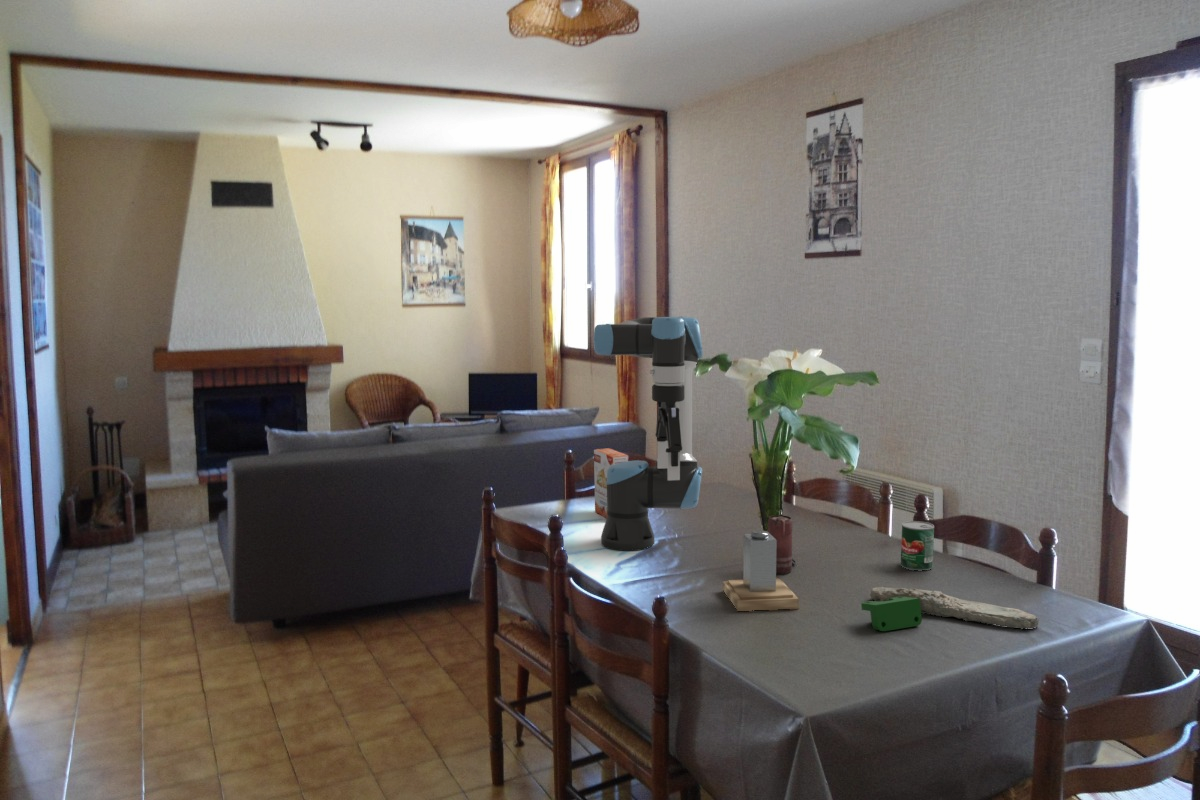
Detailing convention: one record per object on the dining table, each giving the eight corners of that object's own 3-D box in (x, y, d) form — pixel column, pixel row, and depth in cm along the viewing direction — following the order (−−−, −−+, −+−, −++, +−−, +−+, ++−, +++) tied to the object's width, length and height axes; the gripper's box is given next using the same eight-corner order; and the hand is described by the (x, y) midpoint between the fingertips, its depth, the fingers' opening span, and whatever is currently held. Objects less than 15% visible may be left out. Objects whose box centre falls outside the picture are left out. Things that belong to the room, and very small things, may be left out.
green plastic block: (899, 639, 195) (907, 598, 197) (917, 642, 190) (925, 600, 192) (853, 624, 192) (862, 582, 194) (870, 627, 186) (879, 584, 189)
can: (774, 575, 225) (775, 521, 223) (763, 568, 231) (763, 515, 229) (796, 573, 227) (797, 519, 225) (784, 566, 233) (785, 513, 231)
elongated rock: (1033, 643, 185) (1038, 630, 194) (1036, 619, 185) (1041, 606, 193) (864, 605, 203) (875, 594, 212) (866, 582, 203) (877, 572, 211)
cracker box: (593, 512, 290) (592, 448, 288) (610, 510, 293) (609, 447, 290) (612, 522, 278) (611, 456, 275) (629, 520, 280) (629, 454, 278)
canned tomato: (897, 568, 230) (899, 526, 229) (903, 560, 237) (904, 519, 236) (930, 572, 226) (932, 530, 225) (934, 564, 233) (936, 523, 232)
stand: (722, 591, 214) (722, 579, 214) (779, 588, 216) (780, 576, 215) (737, 612, 200) (737, 599, 200) (798, 609, 202) (798, 596, 201)
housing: (743, 583, 210) (743, 529, 209) (768, 582, 211) (769, 528, 209) (750, 592, 204) (750, 536, 203) (775, 591, 205) (776, 535, 203)
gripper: (643, 378, 219) (644, 464, 222) (661, 390, 195) (661, 485, 198) (674, 378, 220) (674, 463, 223) (695, 389, 196) (695, 484, 198)
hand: (668, 474), depth 210 cm, fingers open, 13 cm apart
